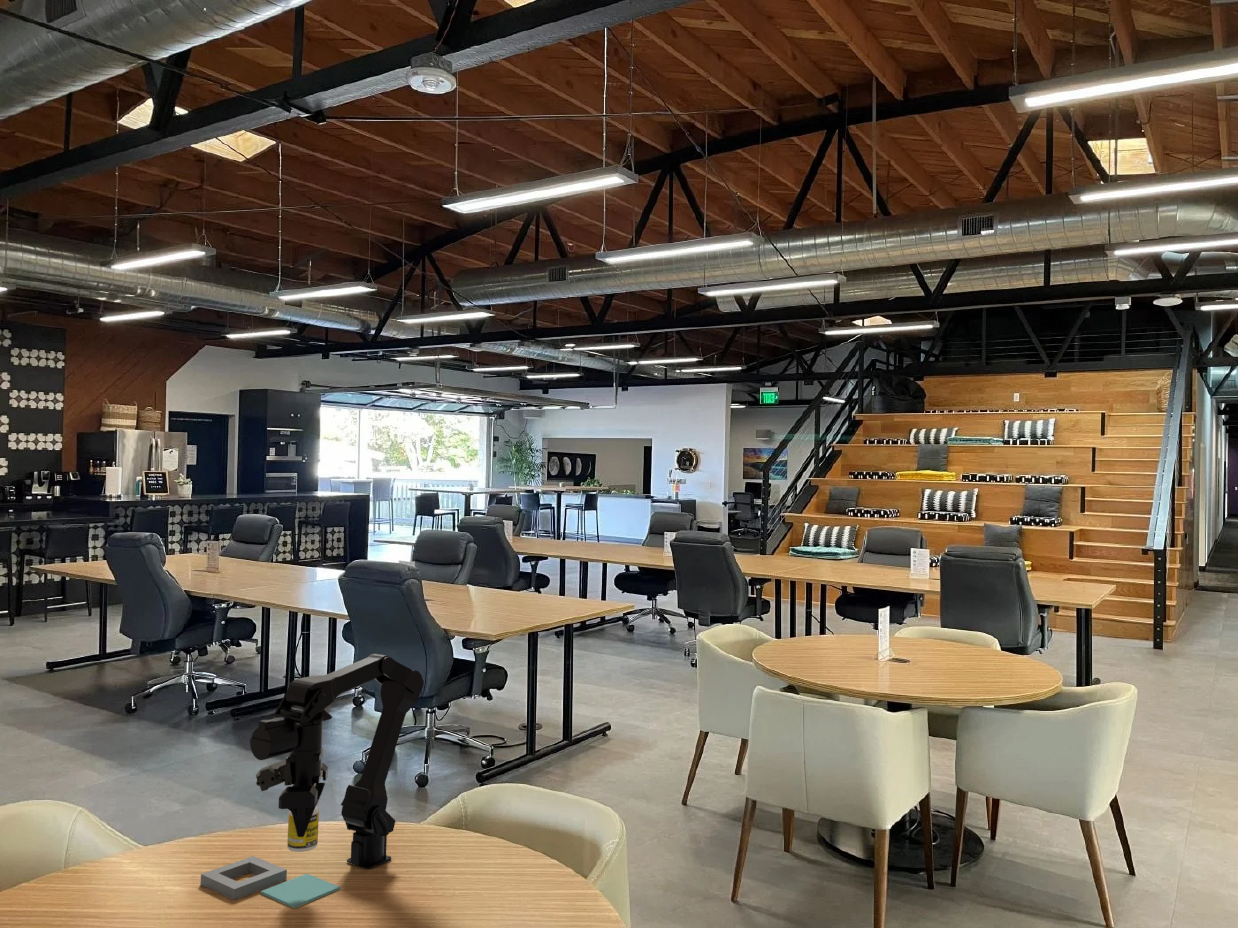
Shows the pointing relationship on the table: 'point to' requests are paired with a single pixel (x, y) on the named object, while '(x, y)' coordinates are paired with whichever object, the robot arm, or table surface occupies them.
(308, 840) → the supplement bottle
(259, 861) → the socket block
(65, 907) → the table surface
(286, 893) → the mat
